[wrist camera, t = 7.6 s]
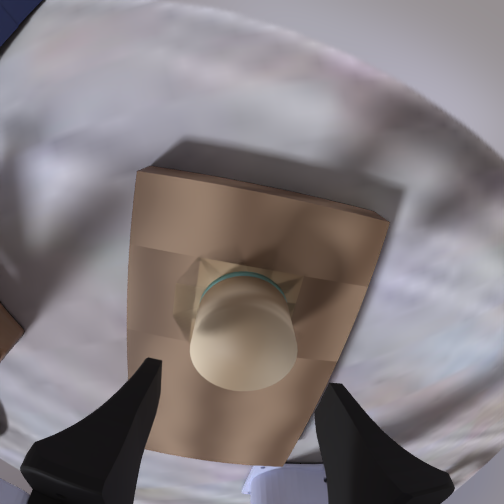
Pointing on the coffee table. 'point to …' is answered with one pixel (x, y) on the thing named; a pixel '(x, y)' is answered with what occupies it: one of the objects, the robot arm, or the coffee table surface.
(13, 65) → the coffee table surface
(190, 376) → the board
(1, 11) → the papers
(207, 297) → the beige cylinder
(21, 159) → the coffee table surface
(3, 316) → the wooden block
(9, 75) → the coffee table surface
